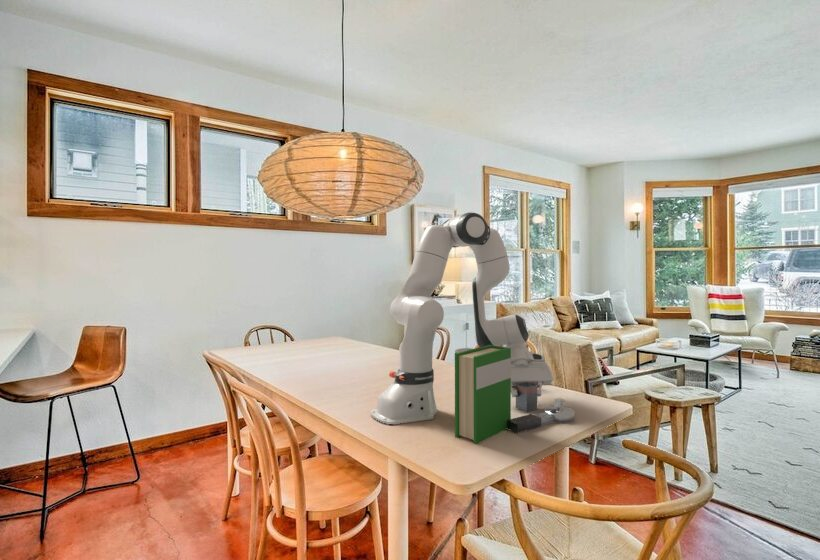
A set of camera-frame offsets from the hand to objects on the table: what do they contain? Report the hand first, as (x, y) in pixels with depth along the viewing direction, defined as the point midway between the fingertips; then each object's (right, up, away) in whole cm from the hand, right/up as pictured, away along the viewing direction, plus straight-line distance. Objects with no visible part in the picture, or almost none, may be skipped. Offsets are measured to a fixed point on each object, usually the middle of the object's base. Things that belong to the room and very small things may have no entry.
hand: (527, 395), depth 148 cm
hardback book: (-18, -6, -20) cm, 27 cm away
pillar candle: (-16, -4, +34) cm, 38 cm away
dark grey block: (0, -5, +1) cm, 5 cm away
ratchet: (+1, -5, -13) cm, 14 cm away
